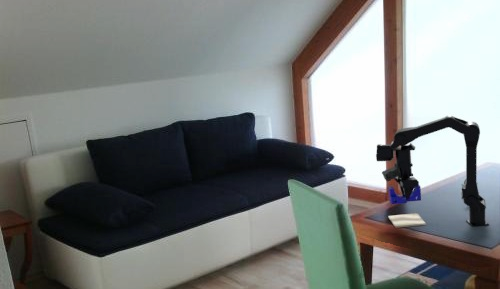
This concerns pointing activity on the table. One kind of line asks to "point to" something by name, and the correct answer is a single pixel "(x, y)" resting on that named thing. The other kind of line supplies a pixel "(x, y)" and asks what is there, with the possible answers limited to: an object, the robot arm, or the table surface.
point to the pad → (406, 220)
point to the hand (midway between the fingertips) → (405, 197)
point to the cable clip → (401, 199)
